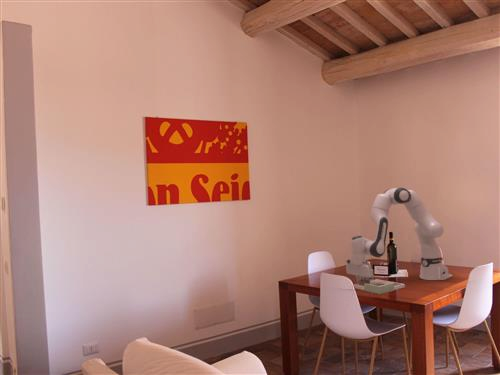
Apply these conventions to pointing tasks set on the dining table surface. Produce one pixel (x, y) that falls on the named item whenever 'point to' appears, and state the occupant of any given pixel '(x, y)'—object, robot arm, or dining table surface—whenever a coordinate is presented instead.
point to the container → (368, 277)
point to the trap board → (380, 286)
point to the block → (362, 282)
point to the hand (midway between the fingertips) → (359, 282)
